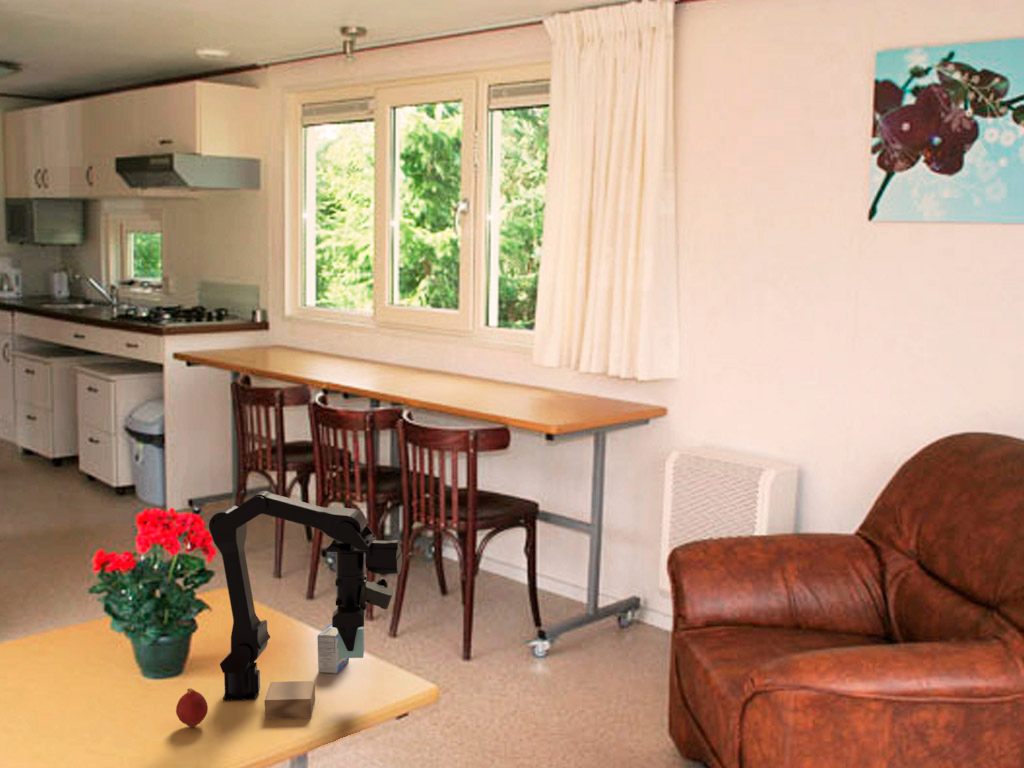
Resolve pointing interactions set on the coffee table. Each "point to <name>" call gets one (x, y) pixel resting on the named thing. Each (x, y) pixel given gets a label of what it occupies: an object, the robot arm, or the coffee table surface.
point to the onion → (191, 708)
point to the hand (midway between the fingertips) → (351, 646)
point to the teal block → (358, 646)
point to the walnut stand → (290, 700)
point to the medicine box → (329, 651)
